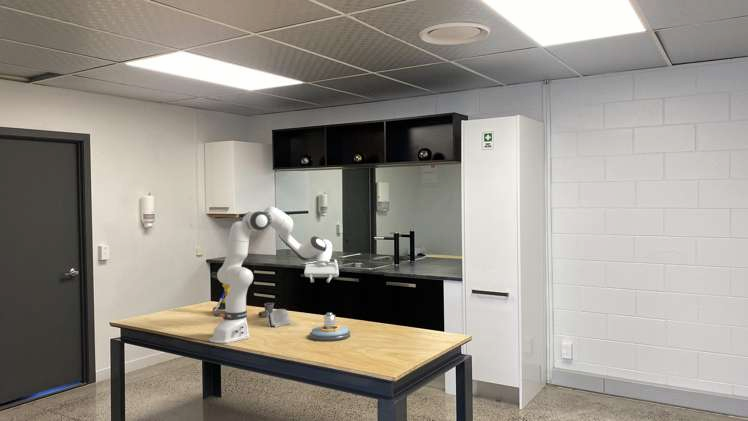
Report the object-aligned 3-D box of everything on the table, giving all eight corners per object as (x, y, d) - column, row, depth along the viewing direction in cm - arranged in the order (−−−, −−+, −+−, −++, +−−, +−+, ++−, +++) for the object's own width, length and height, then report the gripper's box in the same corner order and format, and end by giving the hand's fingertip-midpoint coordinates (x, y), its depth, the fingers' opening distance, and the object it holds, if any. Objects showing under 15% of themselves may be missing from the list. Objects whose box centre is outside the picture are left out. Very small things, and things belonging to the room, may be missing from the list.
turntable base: (334, 343, 284) (334, 339, 284) (301, 338, 296) (301, 334, 296) (358, 334, 303) (357, 330, 303) (326, 329, 315) (326, 326, 315)
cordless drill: (239, 309, 380) (238, 269, 379) (241, 314, 362) (240, 273, 361) (211, 311, 375) (210, 271, 374) (212, 317, 357) (211, 274, 356)
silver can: (330, 331, 295) (330, 314, 295) (322, 330, 299) (321, 313, 298) (337, 329, 300) (337, 312, 300) (328, 328, 304) (328, 311, 303)
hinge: (275, 327, 323) (270, 311, 324) (269, 329, 325) (264, 313, 327) (292, 321, 338) (287, 306, 339) (286, 323, 340) (282, 308, 341)
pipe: (256, 318, 350) (256, 305, 350) (269, 314, 362) (269, 302, 362) (264, 319, 348) (264, 306, 347) (276, 315, 359) (276, 302, 359)
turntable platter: (333, 338, 286) (333, 333, 286) (304, 334, 297) (303, 329, 297) (355, 330, 303) (355, 325, 302) (326, 326, 313) (326, 322, 313)
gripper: (305, 259, 326) (301, 278, 316) (339, 259, 324) (336, 278, 314) (306, 266, 330) (303, 284, 321) (340, 266, 328) (337, 285, 319)
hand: (320, 281), depth 317 cm, fingers open, 8 cm apart
